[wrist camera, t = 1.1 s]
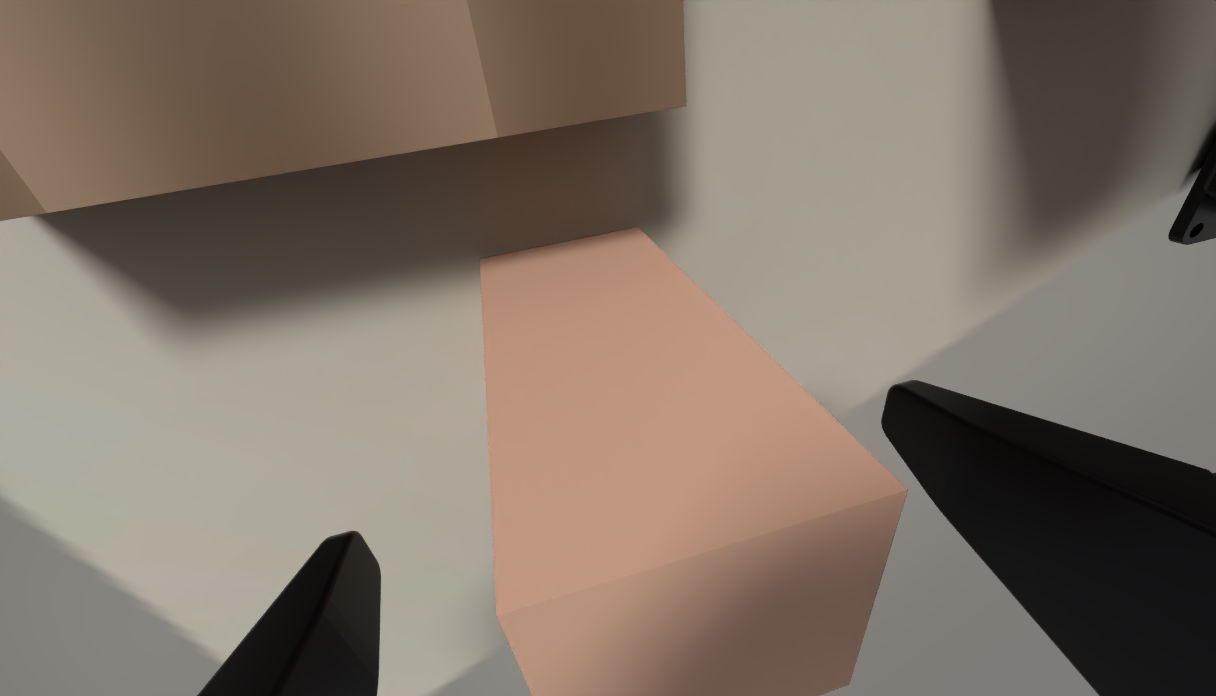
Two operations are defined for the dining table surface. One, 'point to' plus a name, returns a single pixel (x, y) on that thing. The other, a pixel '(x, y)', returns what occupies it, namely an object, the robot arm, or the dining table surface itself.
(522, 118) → the socket block
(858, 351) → the dining table surface
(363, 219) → the dining table surface
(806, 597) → the peg
